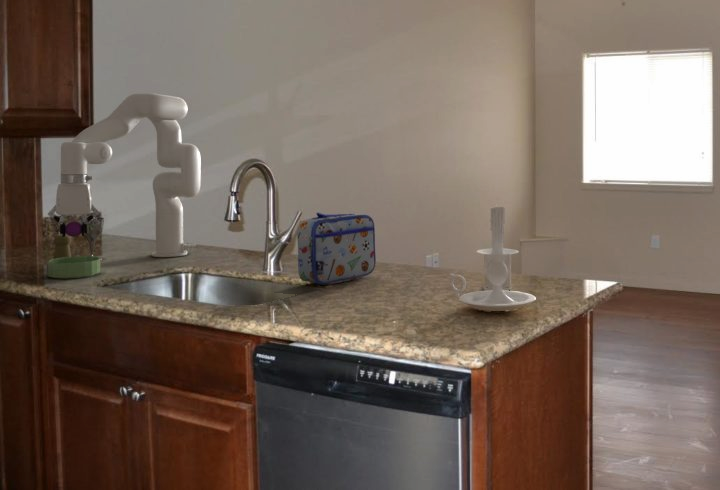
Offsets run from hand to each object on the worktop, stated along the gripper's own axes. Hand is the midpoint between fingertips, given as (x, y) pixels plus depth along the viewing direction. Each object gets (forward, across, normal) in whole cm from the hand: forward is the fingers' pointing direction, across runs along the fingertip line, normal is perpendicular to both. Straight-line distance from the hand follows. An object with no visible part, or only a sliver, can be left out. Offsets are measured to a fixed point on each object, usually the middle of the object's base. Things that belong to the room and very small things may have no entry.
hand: (73, 235), depth 257 cm
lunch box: (+13, -76, +42) cm, 88 cm away
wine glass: (+13, -3, -33) cm, 36 cm away
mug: (+13, -117, +74) cm, 139 cm away
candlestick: (+13, -106, +97) cm, 144 cm away
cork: (+13, +5, -19) cm, 24 cm away
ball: (-2, 0, 0) cm, 2 cm away
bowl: (+13, 0, 0) cm, 13 cm away
